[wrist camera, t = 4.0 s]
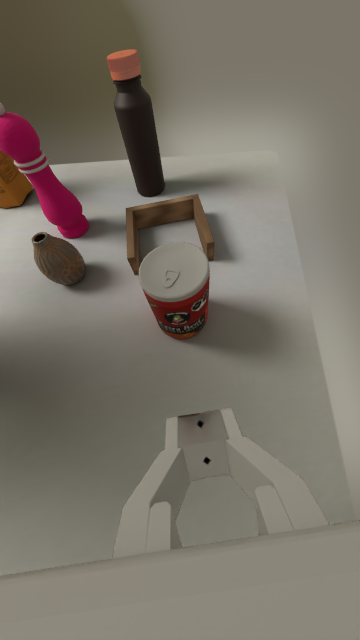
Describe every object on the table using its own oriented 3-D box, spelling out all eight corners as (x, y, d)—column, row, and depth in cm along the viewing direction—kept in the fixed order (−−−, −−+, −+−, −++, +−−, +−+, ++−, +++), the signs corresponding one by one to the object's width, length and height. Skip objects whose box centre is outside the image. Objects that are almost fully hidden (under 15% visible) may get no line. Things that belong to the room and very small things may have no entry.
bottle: (168, 191, 47) (148, 51, 29) (142, 200, 46) (104, 63, 29) (159, 178, 50) (136, 45, 32) (134, 186, 49) (97, 55, 32)
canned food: (156, 341, 29) (133, 300, 19) (160, 296, 33) (141, 243, 23) (209, 340, 28) (212, 296, 18) (206, 294, 32) (207, 238, 22)
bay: (134, 274, 35) (127, 258, 32) (132, 226, 42) (125, 208, 39) (213, 259, 35) (214, 241, 32) (198, 213, 42) (197, 194, 38)
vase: (71, 258, 39) (39, 218, 32) (98, 267, 37) (71, 226, 30) (47, 284, 37) (6, 247, 29) (75, 295, 35) (39, 258, 27)
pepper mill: (97, 220, 44) (28, 87, 27) (81, 242, 41) (-9, 108, 24) (71, 217, 46) (-11, 89, 28) (53, 238, 43) (-50, 110, 25)
